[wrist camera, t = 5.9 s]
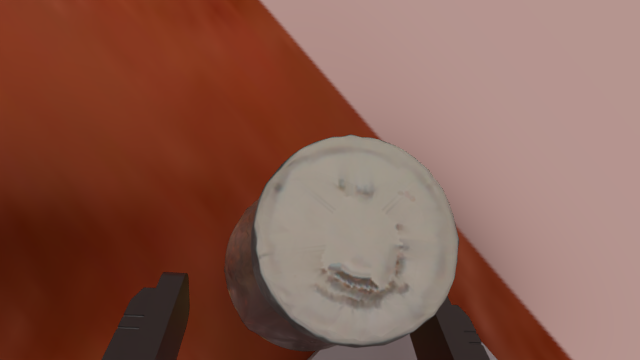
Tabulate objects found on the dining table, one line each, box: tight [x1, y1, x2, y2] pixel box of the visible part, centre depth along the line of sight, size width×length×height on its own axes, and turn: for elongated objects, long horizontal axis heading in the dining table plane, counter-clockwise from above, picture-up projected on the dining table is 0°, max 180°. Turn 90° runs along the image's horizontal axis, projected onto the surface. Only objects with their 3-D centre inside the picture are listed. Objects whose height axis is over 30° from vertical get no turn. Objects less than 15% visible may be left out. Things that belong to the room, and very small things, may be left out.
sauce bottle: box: [224, 135, 459, 351], centre depth 16 cm, size 7×6×20 cm
